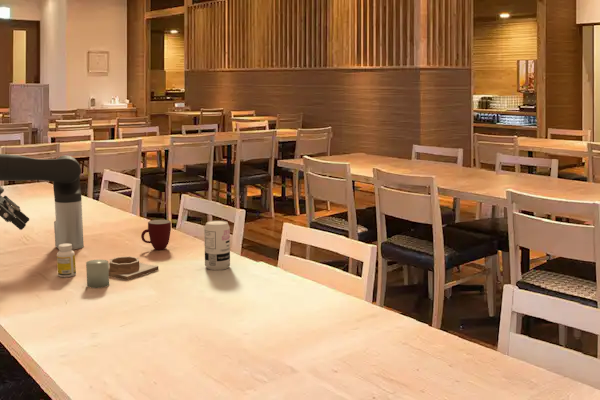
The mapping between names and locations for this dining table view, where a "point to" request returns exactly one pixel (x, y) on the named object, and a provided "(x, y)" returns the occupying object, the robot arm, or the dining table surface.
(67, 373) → the dining table surface
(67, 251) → the supplement bottle
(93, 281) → the sage green domed cylinder
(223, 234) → the supplement can
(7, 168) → the robot arm
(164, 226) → the mug
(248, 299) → the dining table surface
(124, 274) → the caddy
